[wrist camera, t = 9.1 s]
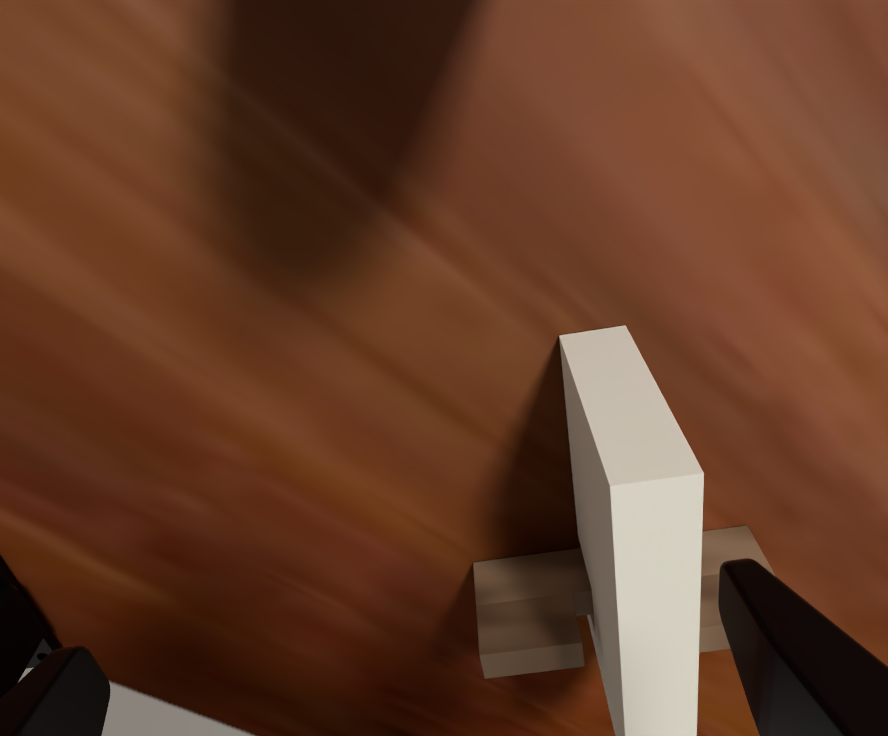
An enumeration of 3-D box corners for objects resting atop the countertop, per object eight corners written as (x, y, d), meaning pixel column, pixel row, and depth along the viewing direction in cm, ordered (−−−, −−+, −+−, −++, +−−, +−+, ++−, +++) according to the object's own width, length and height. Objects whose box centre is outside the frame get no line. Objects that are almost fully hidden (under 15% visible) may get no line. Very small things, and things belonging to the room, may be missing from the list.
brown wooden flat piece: (477, 585, 26) (484, 678, 23) (473, 562, 26) (479, 655, 22) (745, 549, 26) (794, 640, 22) (747, 525, 25) (797, 615, 22)
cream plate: (636, 598, 27) (695, 782, 21) (584, 605, 27) (628, 790, 21) (625, 325, 21) (703, 473, 15) (559, 335, 21) (609, 486, 15)
